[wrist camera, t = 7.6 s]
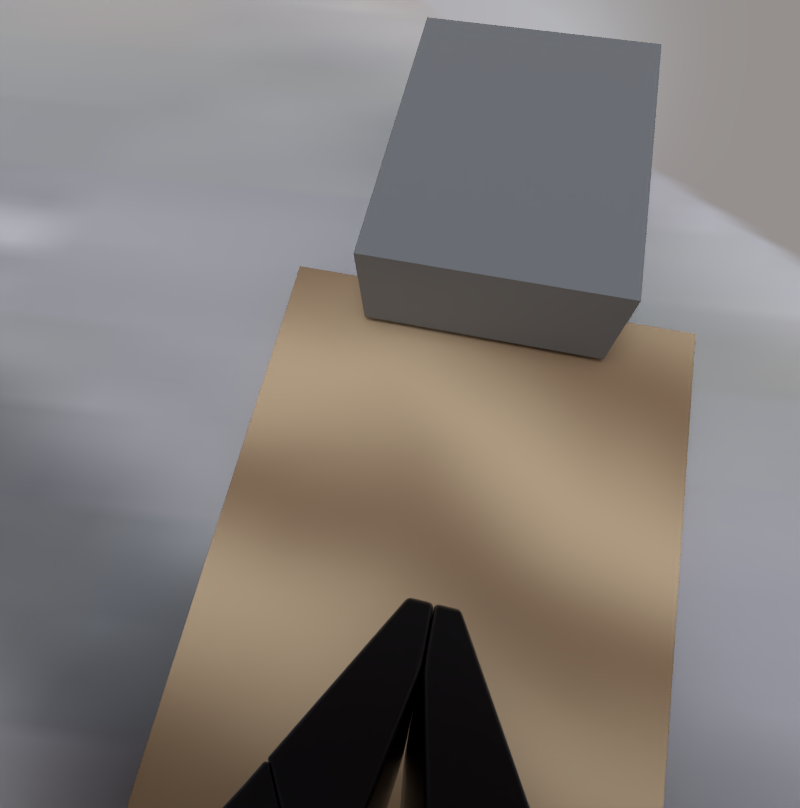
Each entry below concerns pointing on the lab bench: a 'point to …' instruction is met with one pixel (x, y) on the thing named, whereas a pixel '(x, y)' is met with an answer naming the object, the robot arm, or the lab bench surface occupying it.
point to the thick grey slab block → (515, 188)
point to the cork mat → (443, 547)
